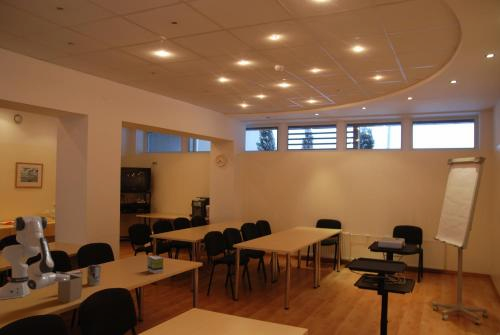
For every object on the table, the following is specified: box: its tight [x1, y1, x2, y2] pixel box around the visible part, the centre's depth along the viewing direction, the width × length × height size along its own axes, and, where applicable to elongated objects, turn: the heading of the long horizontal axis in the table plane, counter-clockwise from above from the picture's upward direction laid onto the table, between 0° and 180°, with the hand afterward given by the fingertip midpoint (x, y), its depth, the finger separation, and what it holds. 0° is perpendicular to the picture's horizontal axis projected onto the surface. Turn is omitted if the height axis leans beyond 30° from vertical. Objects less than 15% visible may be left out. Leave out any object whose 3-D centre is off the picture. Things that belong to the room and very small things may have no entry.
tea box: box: [146, 255, 164, 275], centre depth 382 cm, size 15×10×15 cm
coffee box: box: [86, 264, 101, 287], centre depth 334 cm, size 9×6×16 cm
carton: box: [57, 276, 83, 304], centre depth 292 cm, size 12×11×16 cm
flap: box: [55, 271, 83, 278], centre depth 291 cm, size 16×11×1 cm
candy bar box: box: [67, 270, 83, 292], centre depth 310 cm, size 11×5×16 cm, turn 141°
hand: (63, 274), depth 286 cm, fingers closed, pressing on flap
